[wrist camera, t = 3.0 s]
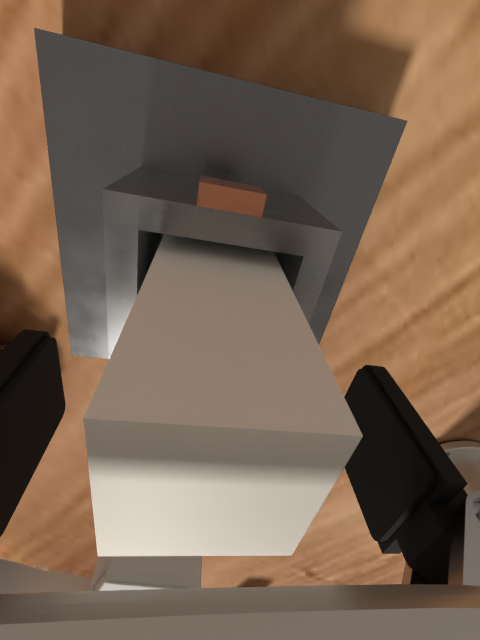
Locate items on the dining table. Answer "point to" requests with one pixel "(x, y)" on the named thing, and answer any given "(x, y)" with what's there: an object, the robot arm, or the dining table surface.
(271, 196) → the stand
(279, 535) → the post
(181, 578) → the supplement box
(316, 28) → the dining table surface
